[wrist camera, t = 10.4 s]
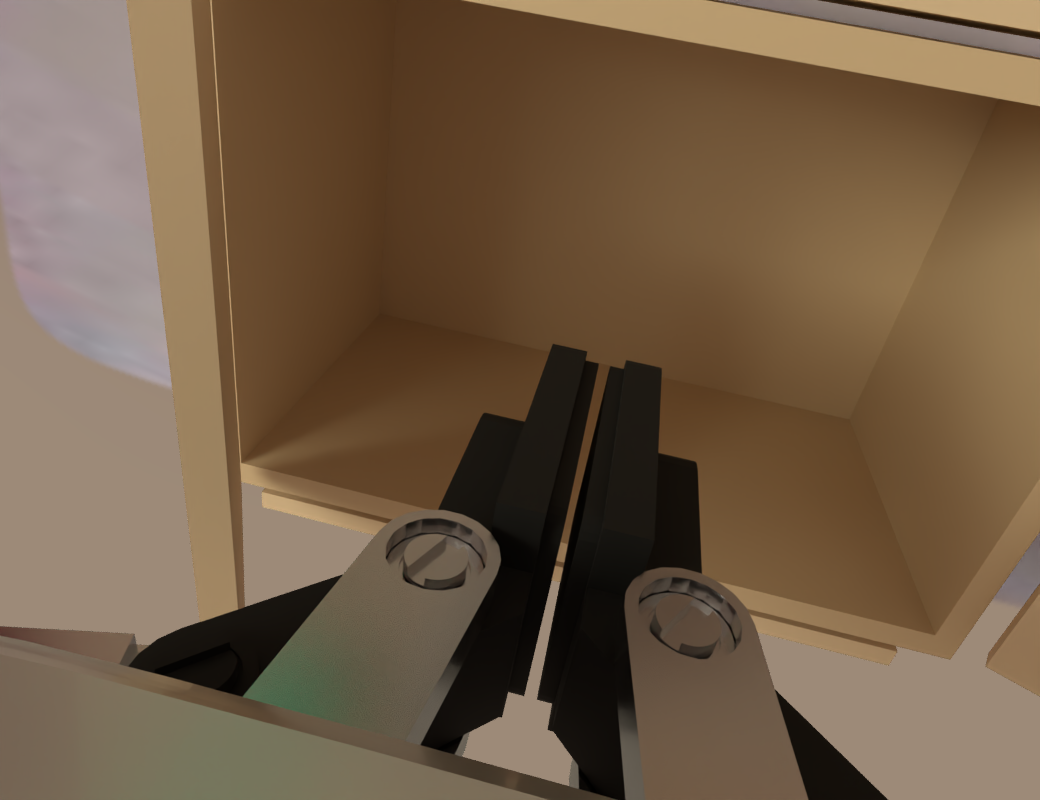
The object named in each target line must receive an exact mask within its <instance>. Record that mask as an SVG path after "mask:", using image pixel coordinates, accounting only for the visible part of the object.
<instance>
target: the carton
mask: <svg viewBox="0 0 1040 800" xmlns="http://www.w3.org/2000/svg"><path fill="white" fill-rule="evenodd" d="M820 1H825V2H831V3H837V4H842V5H848V6H854V7H859V8H865V9H871V10H877V11H882V12H888V13H894V14H899V15H905V16H911V17H916V18H922V19H928V20H934V21H939V22H945V23H951V24H956V25H962V26H968V27H973V28H979V29H985V30H990V31H996V32H1002V33H1008V34H1013V35H1019V36H1025V37H1030V38H1036V39H1040V0H820ZM210 6H211V21H212V37H213V52H214V68H215V83H216V99H217V114H218V129H219V145H220V160H221V176H222V191H223V206H224V222H225V237H226V253H227V268H228V283H229V299H230V314H231V330H232V345H233V360H234V376H235V391H236V407H237V422H238V437H239V453H240V468H241V482H244V483H248V484H252V485H257V486H260V487H264V488H265V489H264V490H263V491H262V506H263V507H265V508H269V509H273V510H277V511H281V512H285V513H289V514H292V515H296V516H300V517H304V518H308V519H313V520H316V521H320V522H324V523H328V524H332V525H336V526H340V527H344V528H348V529H352V530H356V531H360V532H364V533H367V534H371V535H376V534H377V533H378V532H379V531H380V530H381V529H382V528H383V527H384V526H385V525H386V524H388V523H389V522H390V521H391V520H393V519H395V518H397V517H400V516H402V515H404V514H406V513H410V512H415V511H421V510H438V508H439V506H440V504H441V502H442V500H443V498H444V495H445V493H446V491H447V489H448V487H449V485H450V482H451V480H452V478H453V476H454V474H455V472H456V470H457V467H458V465H459V463H460V461H461V459H462V457H463V454H464V452H465V450H466V448H467V446H468V444H469V441H470V439H471V437H472V435H473V433H474V431H475V429H476V426H477V424H478V422H479V420H480V418H481V416H482V414H483V413H489V414H494V415H498V416H502V417H507V418H511V419H515V420H520V421H524V422H525V420H526V417H527V415H528V412H529V409H530V406H531V403H532V401H533V398H534V395H535V392H536V389H537V387H538V384H539V381H540V378H541V375H542V372H543V370H544V367H545V364H546V361H547V358H548V356H549V353H550V350H551V347H552V345H553V344H557V345H561V346H566V347H570V348H575V349H579V350H584V351H587V356H586V361H590V362H594V363H599V367H598V371H597V376H596V381H595V386H594V390H593V395H592V400H591V404H590V409H589V414H588V419H587V423H586V428H585V433H584V437H583V442H582V447H581V451H580V456H579V461H578V466H577V470H576V475H575V480H574V484H573V489H572V494H571V499H570V503H569V508H568V512H567V517H566V521H565V526H564V530H563V534H562V539H561V543H560V547H559V551H558V556H557V560H556V564H555V568H554V572H553V576H552V580H553V581H557V582H560V581H561V576H562V571H563V566H564V561H565V556H566V551H567V546H568V541H569V536H570V531H571V526H572V521H573V517H574V512H575V508H576V504H577V500H578V495H579V491H580V487H581V483H582V479H583V475H584V471H585V467H586V463H587V459H588V455H589V450H590V446H591V442H592V438H593V434H594V430H595V426H596V422H597V418H598V414H599V410H600V405H601V401H602V397H603V393H604V389H605V385H606V381H607V377H608V373H609V369H610V366H612V367H617V368H621V369H624V365H625V362H626V360H629V361H633V362H638V363H642V364H647V365H651V366H656V367H660V368H662V380H661V403H660V426H659V449H658V453H662V454H666V455H670V456H675V457H679V458H683V459H687V460H692V461H695V462H696V463H697V467H698V486H699V511H700V535H701V559H702V574H703V575H705V576H707V577H709V578H711V579H713V580H716V581H718V582H719V583H720V584H722V585H723V586H724V587H726V588H727V589H728V590H730V591H731V592H732V593H734V594H735V595H736V596H737V598H738V599H739V600H740V601H741V602H742V603H743V604H744V606H745V607H746V608H747V609H748V611H749V613H750V616H751V618H752V620H753V622H754V624H755V626H756V630H757V632H758V633H762V634H766V635H770V636H774V637H778V638H782V639H786V640H790V641H794V642H798V643H801V644H805V645H810V646H814V647H817V648H821V649H825V650H829V651H833V652H837V653H841V654H845V655H849V656H853V657H857V658H861V659H865V660H869V661H873V662H876V663H880V664H884V665H889V664H890V663H891V661H892V659H893V658H894V656H895V654H896V653H897V649H896V646H898V647H902V648H906V649H910V650H914V651H918V652H922V653H926V654H930V655H934V656H938V657H942V658H946V659H951V658H952V656H953V655H954V653H955V652H956V651H957V649H958V648H959V646H960V645H961V644H962V642H963V641H964V639H965V638H966V636H967V635H968V633H969V632H970V631H971V629H972V628H973V626H974V625H975V624H976V622H977V621H978V619H979V618H980V616H981V615H982V613H983V612H984V611H985V609H986V608H987V606H988V605H989V603H990V602H991V601H992V599H993V598H994V596H995V595H996V593H997V592H998V591H999V589H1000V588H1001V586H1002V585H1003V583H1004V582H1005V581H1006V579H1007V578H1008V576H1009V575H1010V573H1011V572H1012V571H1013V569H1014V568H1015V566H1016V565H1017V563H1018V562H1019V561H1020V559H1021V558H1022V556H1023V555H1024V553H1025V552H1026V551H1027V549H1028V548H1029V546H1030V545H1031V543H1032V542H1033V541H1034V539H1035V538H1036V536H1037V535H1038V533H1039V532H1040V58H1039V57H1033V56H1027V55H1022V54H1016V53H1011V52H1005V51H999V50H994V49H988V48H982V47H977V46H971V45H966V44H960V43H954V42H949V41H943V40H937V39H932V38H926V37H921V36H915V35H909V34H904V33H898V32H892V31H887V30H881V29H876V28H870V27H864V26H859V25H853V24H847V23H842V22H836V21H831V20H825V19H819V18H814V17H808V16H802V15H797V14H791V13H786V12H780V11H774V10H769V9H763V8H757V7H752V6H746V5H740V4H735V3H729V2H724V1H718V0H210Z"/></svg>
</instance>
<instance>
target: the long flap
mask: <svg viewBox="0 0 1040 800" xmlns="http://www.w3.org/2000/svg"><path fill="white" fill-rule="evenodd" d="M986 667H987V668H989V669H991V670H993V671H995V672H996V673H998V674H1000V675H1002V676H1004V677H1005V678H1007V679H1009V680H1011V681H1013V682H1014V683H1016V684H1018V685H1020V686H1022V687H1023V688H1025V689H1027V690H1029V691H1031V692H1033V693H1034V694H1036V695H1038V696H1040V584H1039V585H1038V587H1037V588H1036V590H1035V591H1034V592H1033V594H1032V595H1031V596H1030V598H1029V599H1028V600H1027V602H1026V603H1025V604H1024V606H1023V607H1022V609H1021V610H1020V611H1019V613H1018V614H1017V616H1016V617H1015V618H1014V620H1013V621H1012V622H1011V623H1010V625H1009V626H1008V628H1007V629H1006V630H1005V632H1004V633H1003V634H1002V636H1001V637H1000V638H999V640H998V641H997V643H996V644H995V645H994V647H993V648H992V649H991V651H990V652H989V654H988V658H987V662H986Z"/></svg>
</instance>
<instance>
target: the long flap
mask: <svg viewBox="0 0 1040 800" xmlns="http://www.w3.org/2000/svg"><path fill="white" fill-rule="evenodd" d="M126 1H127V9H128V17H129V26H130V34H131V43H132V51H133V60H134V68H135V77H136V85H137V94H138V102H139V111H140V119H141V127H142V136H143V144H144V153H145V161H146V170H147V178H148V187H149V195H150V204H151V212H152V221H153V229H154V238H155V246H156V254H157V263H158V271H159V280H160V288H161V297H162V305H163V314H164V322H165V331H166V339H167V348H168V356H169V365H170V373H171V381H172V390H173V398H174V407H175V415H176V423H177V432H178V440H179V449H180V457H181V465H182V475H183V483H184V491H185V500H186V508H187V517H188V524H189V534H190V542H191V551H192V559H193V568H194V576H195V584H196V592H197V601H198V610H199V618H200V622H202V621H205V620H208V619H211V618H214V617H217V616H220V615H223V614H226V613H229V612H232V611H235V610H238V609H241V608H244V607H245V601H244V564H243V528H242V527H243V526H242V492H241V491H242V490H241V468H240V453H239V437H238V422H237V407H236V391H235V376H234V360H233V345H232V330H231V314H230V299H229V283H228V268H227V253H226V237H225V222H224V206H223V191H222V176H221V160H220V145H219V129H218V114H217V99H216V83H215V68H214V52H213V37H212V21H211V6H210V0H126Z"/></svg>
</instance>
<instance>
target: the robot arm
mask: <svg viewBox="0 0 1040 800" xmlns="http://www.w3.org/2000/svg"><path fill="white" fill-rule="evenodd" d="M586 356H587V351H584V350H579V349H575V348H570V347H566V346H561V345H557V344H553V345H552V347H551V350H550V353H549V356H548V358H547V361H546V364H545V367H544V370H543V372H542V375H541V378H540V381H539V384H538V387H537V389H536V392H535V395H534V398H533V401H532V403H531V406H530V409H529V412H528V415H527V417H526V420H525V422H524V421H520V420H515V419H511V418H507V417H502V416H498V415H494V414H489V413H483V414H482V416H481V418H480V420H479V422H478V424H477V426H476V429H475V431H474V433H473V435H472V437H471V439H470V441H469V444H468V446H467V448H466V450H465V452H464V454H463V457H462V459H461V461H460V463H459V465H458V467H457V470H456V472H455V474H454V476H453V478H452V480H451V482H450V485H449V487H448V489H447V491H446V493H445V495H444V498H443V500H442V502H441V504H440V506H439V508H438V510H421V511H415V512H410V513H406V514H404V515H402V516H400V517H397V518H395V519H393V520H391V521H390V522H389V523H388V524H386V525H385V526H384V527H383V528H382V529H381V530H380V531H379V532H378V533H377V534H376V535H375V537H374V538H373V539H372V540H371V541H370V543H369V544H368V545H367V546H366V547H365V549H364V550H363V551H362V553H361V554H360V555H359V556H358V557H357V558H356V560H355V561H354V562H353V563H352V564H351V566H350V567H349V568H348V570H347V571H346V572H345V573H344V574H343V575H340V576H337V577H334V578H331V579H328V580H325V581H322V582H319V583H316V584H313V585H310V586H307V587H304V588H301V589H298V590H295V591H292V592H289V593H286V594H283V595H280V596H277V597H274V598H271V599H268V600H265V601H262V602H259V603H256V604H253V605H250V606H247V607H244V608H241V609H238V610H235V611H232V612H229V613H226V614H223V615H220V616H217V617H214V618H211V619H208V620H205V621H202V622H199V623H196V624H193V625H190V626H187V627H184V628H181V629H179V630H177V631H174V632H172V633H170V634H168V635H166V636H164V637H161V638H159V639H157V640H156V641H155V642H153V643H152V644H151V645H136V639H135V634H128V633H110V632H93V631H92V632H91V631H75V630H57V629H40V628H38V629H37V628H22V627H4V626H0V800H887V798H886V797H885V796H884V795H883V794H882V793H880V791H879V790H877V789H876V788H875V787H874V786H873V785H872V784H871V783H870V782H869V781H868V780H867V779H866V778H865V777H864V776H863V775H862V774H861V773H860V772H859V771H858V770H857V769H856V768H855V767H854V766H853V765H852V764H851V763H850V762H849V761H848V760H847V759H846V758H845V757H844V756H843V755H842V754H841V753H839V751H837V750H836V749H835V748H834V747H833V746H832V745H831V744H830V743H829V742H828V741H827V740H826V739H825V738H824V737H823V736H822V735H821V734H820V733H819V732H818V731H817V730H816V729H815V728H814V727H813V726H812V725H811V724H810V723H809V722H808V721H807V720H806V719H805V718H804V717H803V716H802V715H801V714H800V713H799V712H798V711H796V710H795V709H794V708H793V707H792V706H791V705H790V704H789V703H788V702H787V701H786V700H785V699H784V698H783V697H782V696H781V695H780V694H779V693H778V692H777V691H776V690H775V689H774V685H773V682H772V679H771V676H770V672H769V669H768V666H767V662H766V659H765V656H764V653H763V650H762V646H761V643H760V640H759V636H758V633H757V630H756V626H755V624H754V622H753V620H752V618H751V616H750V613H749V611H748V609H747V608H746V607H745V606H744V604H743V603H742V602H741V601H740V600H739V599H738V598H737V596H736V595H735V594H734V593H732V592H731V591H730V590H728V589H727V588H726V587H724V586H723V585H722V584H720V583H719V582H718V581H716V580H713V579H711V578H709V577H707V576H705V575H703V574H702V559H701V535H700V511H699V486H698V467H697V463H696V462H695V461H692V460H687V459H683V458H679V457H675V456H670V455H666V454H662V453H658V449H659V426H660V403H661V380H662V368H660V367H656V366H651V365H647V364H642V363H638V362H633V361H629V360H626V362H625V365H624V369H621V368H617V367H612V366H610V369H609V373H608V377H607V381H606V385H605V389H604V393H603V397H602V401H601V405H600V410H599V414H598V418H597V422H596V426H595V430H594V434H593V438H592V442H591V446H590V450H589V455H588V459H587V463H586V467H585V471H584V475H583V479H582V483H581V487H580V491H579V495H578V500H577V504H576V508H575V512H574V517H573V521H572V526H571V531H570V536H569V541H568V546H567V551H566V556H565V561H564V566H563V571H562V576H561V581H560V586H559V591H558V596H557V602H556V606H555V611H554V616H553V622H552V627H551V631H550V636H549V642H548V647H547V652H546V656H545V662H544V666H543V671H542V676H541V682H540V686H539V691H538V697H537V700H541V701H545V702H548V703H552V708H551V714H550V719H549V725H548V730H550V731H553V732H554V733H555V734H556V736H557V737H558V738H559V740H560V741H561V742H562V744H563V745H564V747H565V748H566V749H567V751H568V752H569V753H570V755H571V756H572V758H573V760H572V763H571V769H570V776H569V786H566V785H562V784H559V783H555V782H552V781H548V780H544V779H541V778H537V777H534V776H530V775H526V774H522V773H519V772H515V771H512V770H508V769H504V768H501V767H497V766H494V765H490V764H486V763H482V762H479V761H476V760H472V759H468V758H465V757H462V755H463V753H464V751H465V748H466V744H467V740H468V737H469V732H470V731H472V730H474V729H476V728H478V727H480V726H482V725H484V724H486V723H488V722H490V721H492V720H494V719H496V718H498V717H502V715H503V711H504V707H505V702H506V698H507V694H508V692H511V693H515V694H519V695H522V696H524V694H525V690H526V685H527V681H528V677H529V672H530V668H531V664H532V660H533V656H534V652H535V648H536V644H537V639H538V635H539V631H540V627H541V622H542V618H543V614H544V610H545V605H546V601H547V597H548V593H549V589H550V585H551V581H552V576H553V572H554V568H555V564H556V560H557V556H558V551H559V547H560V543H561V539H562V534H563V530H564V526H565V521H566V517H567V512H568V508H569V503H570V499H571V494H572V489H573V484H574V480H575V475H576V470H577V466H578V461H579V456H580V451H581V447H582V442H583V437H584V433H585V428H586V423H587V419H588V414H589V409H590V404H591V400H592V395H593V390H594V386H595V381H596V376H597V371H598V367H599V363H594V362H590V361H586Z"/></svg>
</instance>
